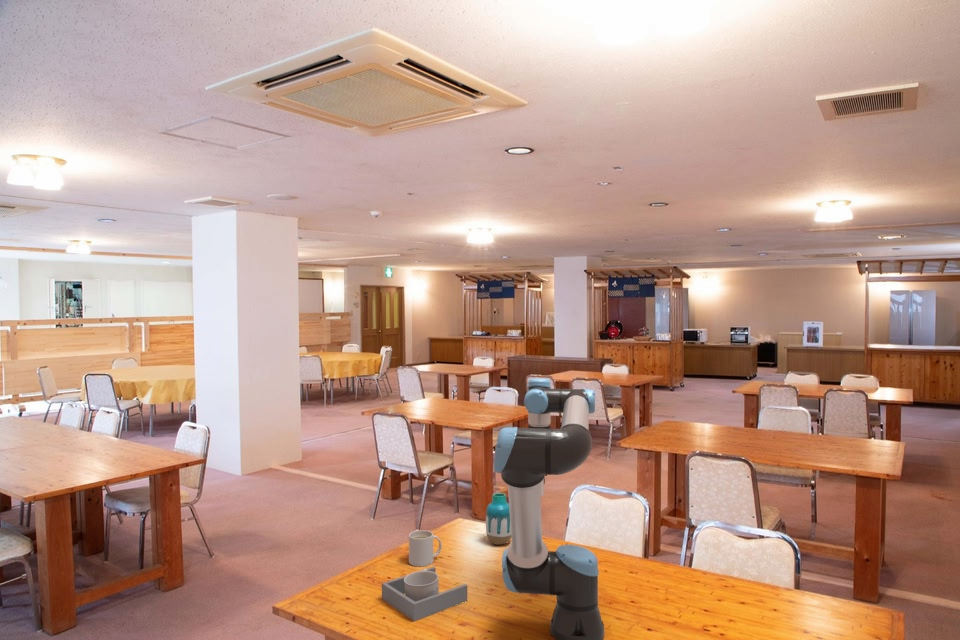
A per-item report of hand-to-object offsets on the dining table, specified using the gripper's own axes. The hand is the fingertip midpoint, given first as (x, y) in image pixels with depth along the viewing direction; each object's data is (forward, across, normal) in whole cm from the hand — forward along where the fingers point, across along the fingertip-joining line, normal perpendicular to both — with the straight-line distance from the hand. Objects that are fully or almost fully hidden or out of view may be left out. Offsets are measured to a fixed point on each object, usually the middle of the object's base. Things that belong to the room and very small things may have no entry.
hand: (539, 494), depth 208 cm
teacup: (+30, +37, -14) cm, 50 cm away
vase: (+30, -13, -35) cm, 48 cm away
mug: (+30, +20, -39) cm, 53 cm away
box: (+29, +37, -14) cm, 49 cm away
